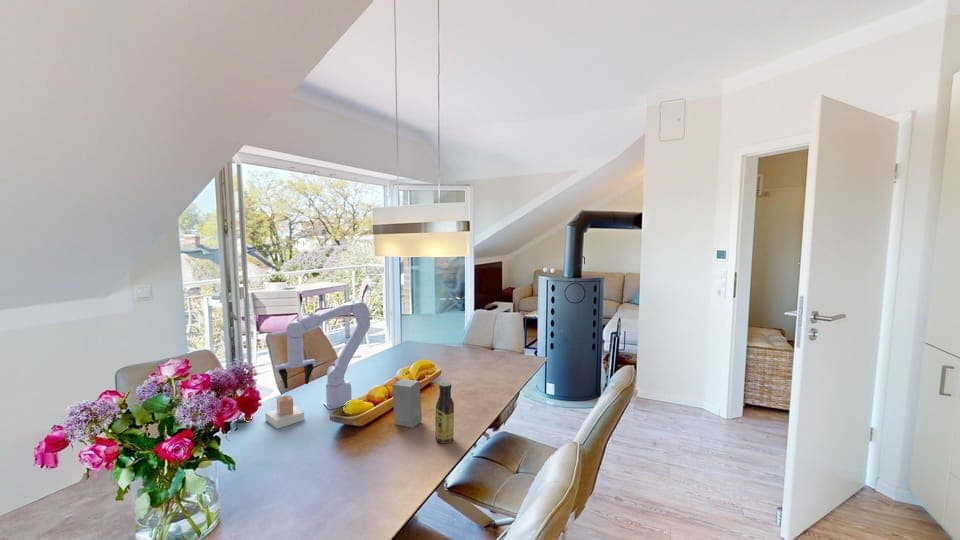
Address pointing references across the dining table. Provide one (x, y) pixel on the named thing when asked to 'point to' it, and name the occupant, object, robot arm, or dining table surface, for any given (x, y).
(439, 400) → the sauce bottle
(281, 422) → the marble slab
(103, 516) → the dining table surface
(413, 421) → the skincare box
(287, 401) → the wooden block
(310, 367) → the robot arm
